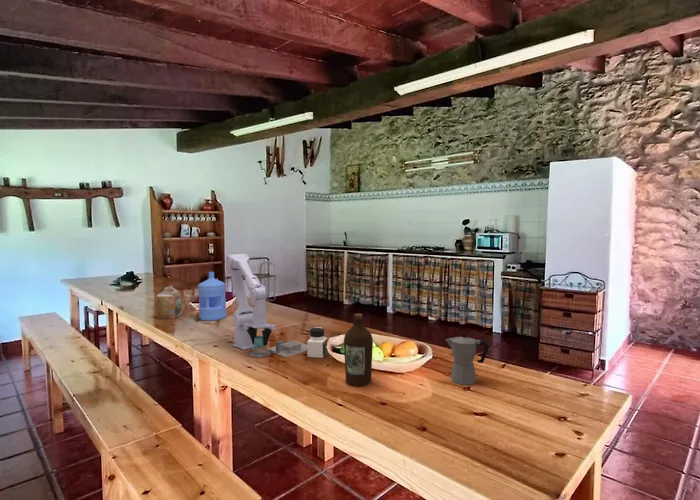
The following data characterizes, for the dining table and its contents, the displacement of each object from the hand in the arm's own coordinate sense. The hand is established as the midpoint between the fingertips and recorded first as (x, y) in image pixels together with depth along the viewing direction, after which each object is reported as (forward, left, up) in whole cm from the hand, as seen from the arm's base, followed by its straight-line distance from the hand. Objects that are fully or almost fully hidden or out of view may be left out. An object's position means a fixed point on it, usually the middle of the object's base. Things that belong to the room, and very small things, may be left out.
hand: (260, 344), depth 183 cm
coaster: (0, 0, -4) cm, 4 cm away
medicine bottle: (+20, +16, -4) cm, 26 cm away
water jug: (-78, +20, -4) cm, 81 cm away
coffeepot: (+82, +33, -4) cm, 88 cm away
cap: (+1, -1, -1) cm, 2 cm away
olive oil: (+53, +6, -4) cm, 53 cm away
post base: (+5, +13, -4) cm, 15 cm away
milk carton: (-99, +3, -4) cm, 99 cm away
